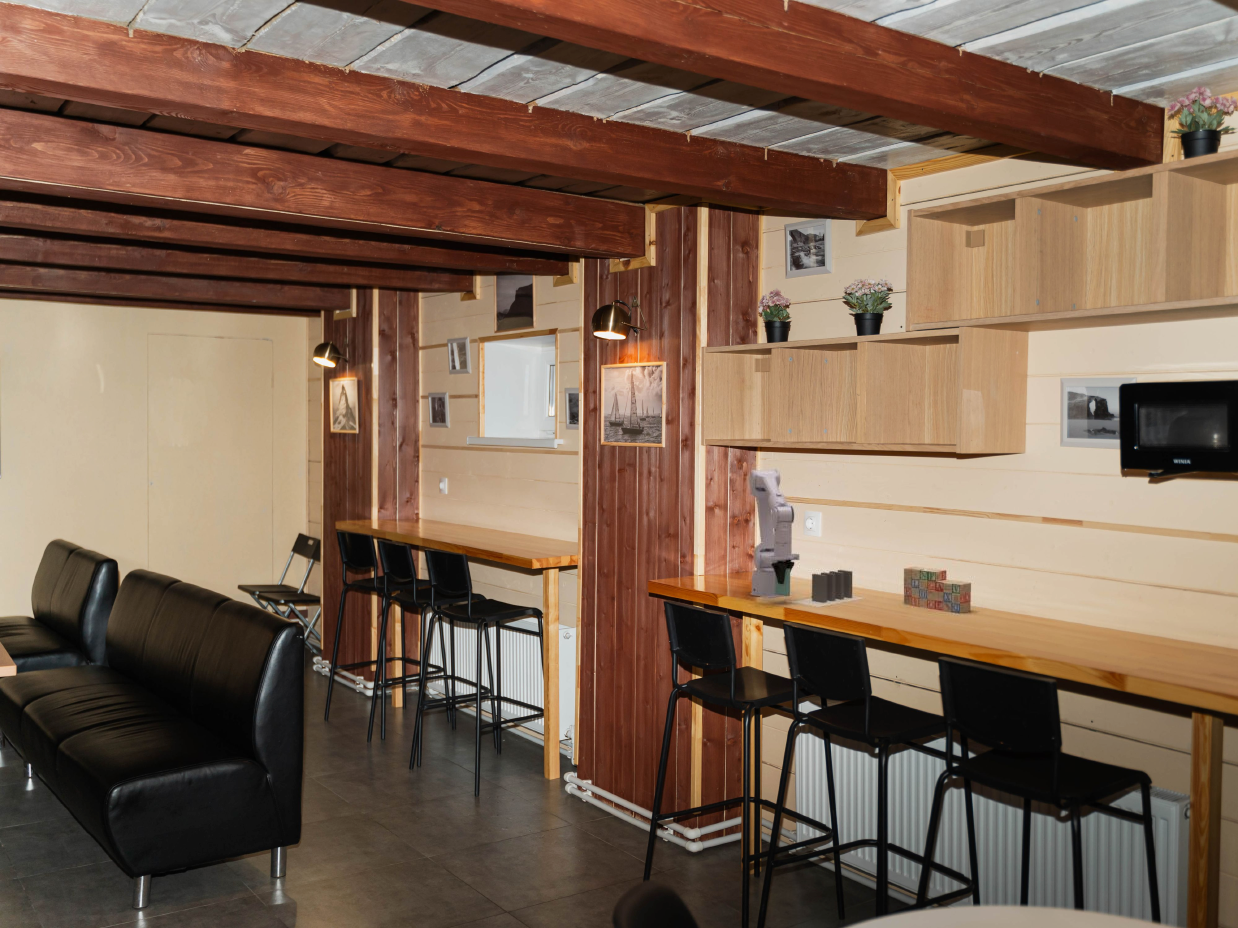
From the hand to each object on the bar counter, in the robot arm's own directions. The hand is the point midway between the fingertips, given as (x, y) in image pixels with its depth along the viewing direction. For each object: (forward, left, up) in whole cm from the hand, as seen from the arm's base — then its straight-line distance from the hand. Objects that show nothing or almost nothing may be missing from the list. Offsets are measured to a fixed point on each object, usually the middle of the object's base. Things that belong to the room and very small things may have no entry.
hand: (782, 583), depth 351 cm
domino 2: (+6, +11, -7) cm, 15 cm away
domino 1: (0, 0, -4) cm, 4 cm away
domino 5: (+6, +25, -7) cm, 26 cm away
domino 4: (+6, +20, -7) cm, 22 cm away
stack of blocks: (+37, +33, -7) cm, 50 cm away
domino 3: (+6, +16, -7) cm, 18 cm away
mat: (+6, +16, -7) cm, 18 cm away
